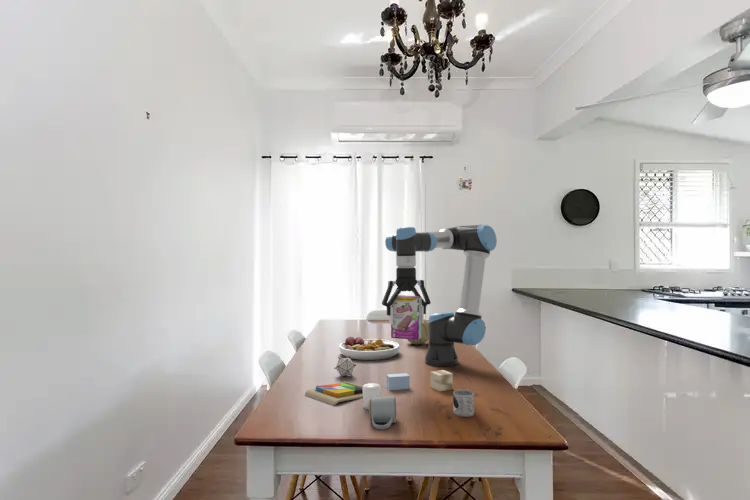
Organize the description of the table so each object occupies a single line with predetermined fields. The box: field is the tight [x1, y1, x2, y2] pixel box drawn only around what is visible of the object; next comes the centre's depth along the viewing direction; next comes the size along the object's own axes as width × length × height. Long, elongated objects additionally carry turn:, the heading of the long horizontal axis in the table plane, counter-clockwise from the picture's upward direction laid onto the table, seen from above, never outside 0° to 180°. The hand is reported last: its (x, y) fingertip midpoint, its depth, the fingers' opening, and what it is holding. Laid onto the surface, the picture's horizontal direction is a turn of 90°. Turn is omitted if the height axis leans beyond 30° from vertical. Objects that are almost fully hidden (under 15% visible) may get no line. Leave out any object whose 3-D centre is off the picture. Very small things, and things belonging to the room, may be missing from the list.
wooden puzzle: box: [304, 381, 363, 407], centre depth 174 cm, size 18×19×4 cm
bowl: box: [339, 336, 400, 361], centre depth 240 cm, size 30×30×8 cm
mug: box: [452, 388, 475, 418], centre depth 152 cm, size 10×7×7 cm
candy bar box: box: [390, 294, 423, 340], centre depth 185 cm, size 11×5×16 cm, turn 71°
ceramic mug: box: [368, 395, 397, 430], centre depth 145 cm, size 11×8×8 cm
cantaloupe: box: [406, 319, 429, 345], centre depth 264 cm, size 15×15×15 cm
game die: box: [333, 356, 357, 379], centre depth 199 cm, size 9×8×10 cm
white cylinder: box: [362, 382, 382, 411], centre depth 160 cm, size 6×6×7 cm
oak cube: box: [429, 369, 454, 392], centre depth 181 cm, size 6×6×6 cm
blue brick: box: [386, 372, 411, 391], centre depth 182 cm, size 8×4×5 cm, turn 102°
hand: (406, 323), depth 185 cm, fingers closed on candy bar box, 12 cm apart
